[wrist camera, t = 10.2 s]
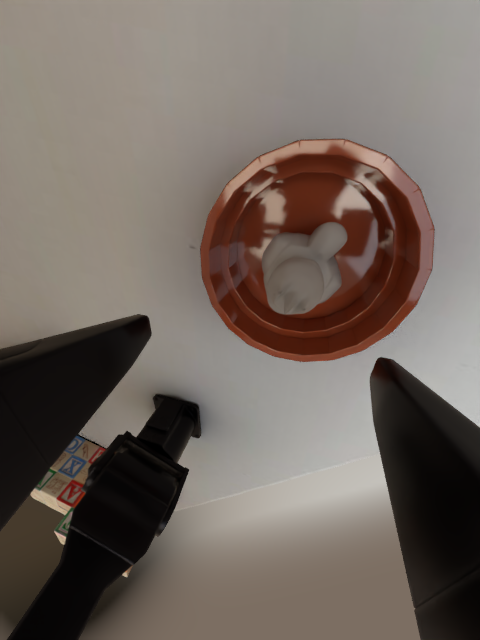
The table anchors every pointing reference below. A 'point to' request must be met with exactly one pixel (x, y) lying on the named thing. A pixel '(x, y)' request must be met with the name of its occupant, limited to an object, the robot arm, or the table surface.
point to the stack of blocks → (68, 482)
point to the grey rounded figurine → (303, 268)
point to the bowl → (304, 217)
